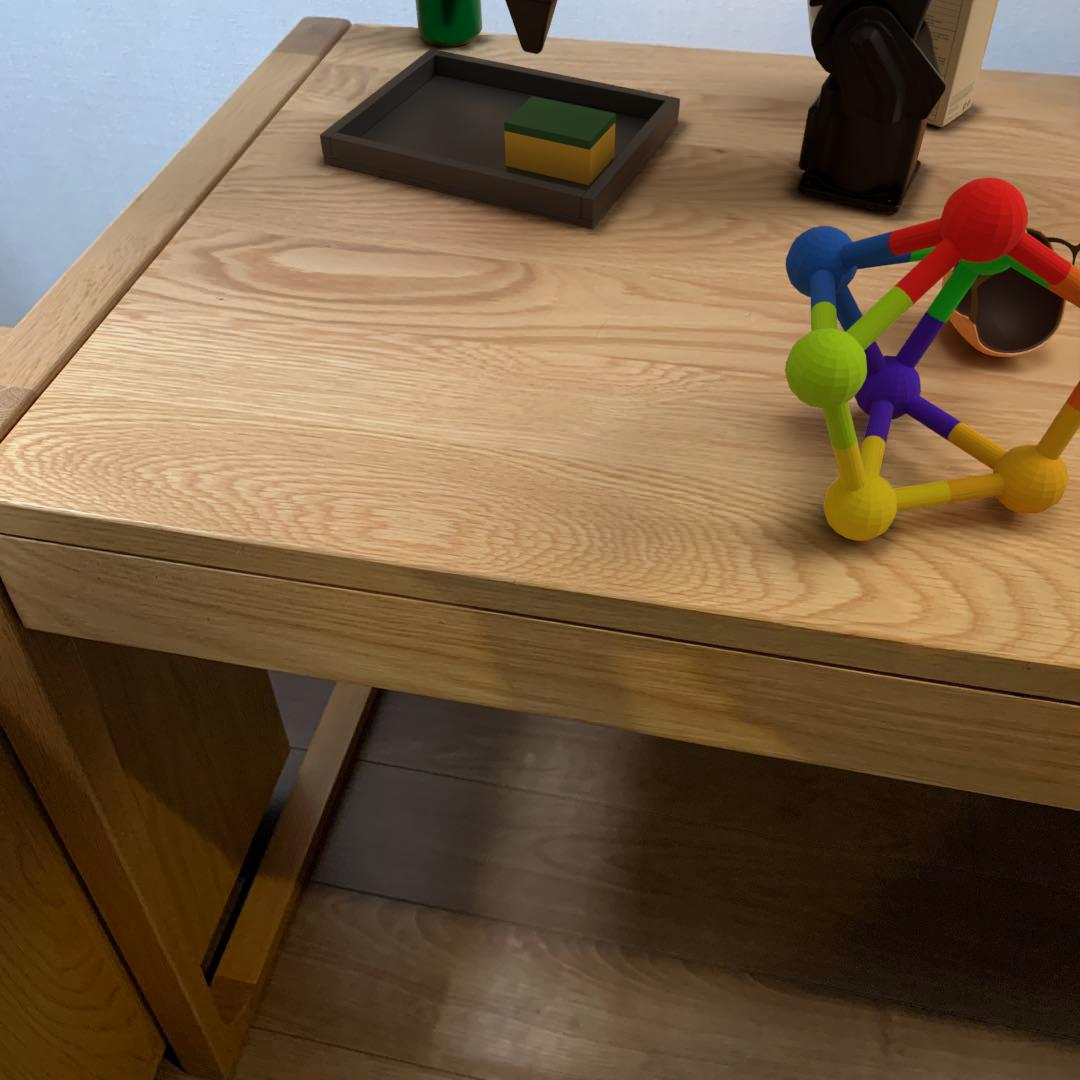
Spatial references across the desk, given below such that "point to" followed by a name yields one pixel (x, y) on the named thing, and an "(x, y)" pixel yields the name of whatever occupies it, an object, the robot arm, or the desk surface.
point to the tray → (492, 134)
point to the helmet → (1010, 309)
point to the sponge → (560, 140)
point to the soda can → (449, 21)
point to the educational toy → (918, 355)
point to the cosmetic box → (959, 51)
